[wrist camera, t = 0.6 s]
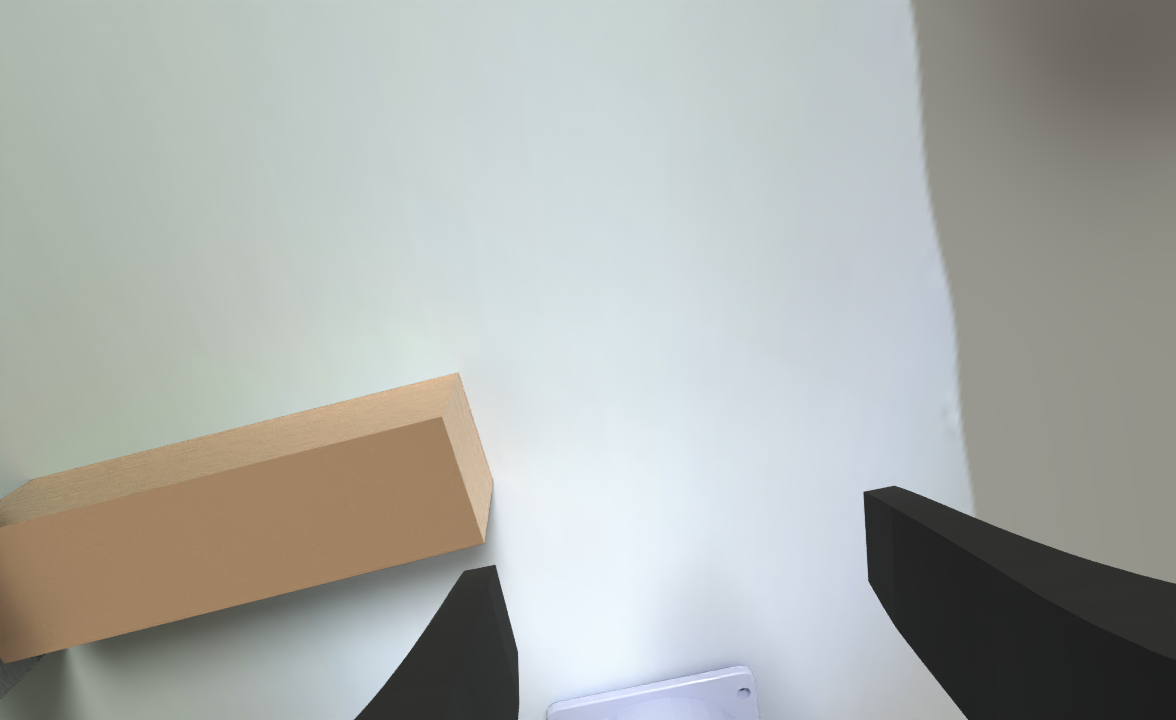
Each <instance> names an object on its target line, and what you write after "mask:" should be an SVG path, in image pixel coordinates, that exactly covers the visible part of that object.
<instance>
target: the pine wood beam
mask: <svg viewBox="0 0 1176 720" xmlns="http://www.w3.org/2000/svg"><path fill="white" fill-rule="evenodd" d="M492 487H493V478H492V475H491V472H490V469H489V466H488V463H487V460H486V457H485V453H484V450H483V447H482V444H481V441H480V438H479V435H478V431H477V428H476V425H475V422H474V419H473V416H472V413H471V410H470V406H469V403H468V400H467V397H466V394H465V391H464V388H463V384H462V381H461V378H460V375H459V372H458V373H454V374H450V375H446V376H442V377H438V378H434V379H430V380H426V381H422V382H418V383H414V384H410V385H406V386H402V387H398V388H394V389H390V390H386V391H382V392H378V393H374V394H370V395H366V396H362V397H358V398H354V399H350V400H346V401H343V402H339V403H335V404H331V405H327V406H323V407H319V408H315V409H311V410H307V411H303V412H299V413H295V414H291V415H287V416H283V417H279V418H275V419H271V420H267V421H263V422H259V423H255V424H251V425H247V426H243V427H239V428H235V429H231V430H227V431H223V432H219V433H215V434H211V435H207V436H203V437H199V438H195V439H191V440H187V441H183V442H179V443H175V444H171V445H167V446H163V447H159V448H155V449H151V450H147V451H143V452H139V453H135V454H131V455H127V456H123V457H119V458H115V459H111V460H108V461H104V462H100V463H96V464H92V465H88V466H84V467H80V468H76V469H72V470H68V471H64V472H60V473H56V474H52V475H48V476H44V477H40V478H36V479H33V480H31V481H30V482H28V483H26V484H25V485H23V486H22V487H20V488H18V489H17V490H15V491H14V492H12V493H10V494H9V495H7V496H6V497H4V498H2V499H1V500H0V658H1V659H2V661H3V662H4V664H6V663H10V662H14V661H18V660H22V659H26V658H30V657H34V656H38V655H42V654H46V653H50V652H54V651H58V650H62V649H66V648H70V647H73V646H77V645H81V644H85V643H89V642H93V641H97V640H101V639H105V638H109V637H113V636H117V635H121V634H125V633H129V632H133V631H137V630H141V629H145V628H149V627H153V626H157V625H161V624H165V623H169V622H173V621H177V620H181V619H185V618H189V617H193V616H197V615H201V614H205V613H209V612H213V611H217V610H221V609H225V608H229V607H233V606H237V605H241V604H245V603H249V602H253V601H257V600H261V599H265V598H269V597H273V596H277V595H281V594H285V593H289V592H293V591H297V590H301V589H305V588H309V587H313V586H317V585H321V584H325V583H329V582H333V581H337V580H341V579H345V578H349V577H353V576H357V575H361V574H365V573H369V572H373V571H377V570H381V569H385V568H389V567H393V566H397V565H401V564H405V563H409V562H413V561H417V560H421V559H425V558H429V557H433V556H437V555H441V554H445V553H449V552H453V551H457V550H461V549H465V548H469V547H472V546H476V545H480V544H484V543H485V536H486V529H487V522H488V515H489V508H490V501H491V494H492Z"/></svg>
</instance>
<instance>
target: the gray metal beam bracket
mask: <svg viewBox="0 0 1176 720" xmlns="http://www.w3.org/2000/svg"><path fill="white" fill-rule="evenodd" d="M44 655H45V654H42V655H38V656H34V657H30V658H26V659H22V660H18V661H14V662H10V663H6V664H4V662H3V661H2V659H1V658H0V699H1V698H2V697H3V696H4V695H5V694H6V693H7V692H8V691H9V690H10V689H11V688H12V687H13V686H14V685H15V684H16V683H17V682H18V681H19V680H20V679H21V678H22V677H23V676H24V675H25V674H26V673H27V672H28V671H29V670H30V669H31V668H32V667H33V666H34V665H35V664H36V663H37V662H38V661H39V660H40V659H41V658H42V657H43V656H44Z"/></svg>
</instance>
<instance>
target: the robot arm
mask: <svg viewBox="0 0 1176 720" xmlns="http://www.w3.org/2000/svg"><path fill="white" fill-rule="evenodd" d="M864 510H865V528H866V546H867V564H868V581H869V583H870V585H871V587H872V588H873V590H874V592H875V594H876V595H877V597H878V599H879V600H880V602H881V604H882V606H883V607H884V609H885V611H886V612H887V614H888V615H889V617H890V619H891V620H892V622H893V624H894V625H895V627H896V628H897V630H898V631H899V632H900V634H901V635H902V636H903V637H904V639H905V640H906V641H907V643H908V644H909V645H910V647H911V648H912V649H913V650H914V652H915V653H916V654H917V656H918V657H919V658H920V659H921V661H922V662H923V663H924V665H925V666H926V667H927V668H928V670H929V671H930V672H931V673H932V675H933V676H934V677H935V678H936V680H937V681H938V682H939V683H940V685H941V686H942V687H943V689H944V690H945V691H946V692H947V694H948V695H949V696H950V697H951V699H952V700H953V701H954V702H955V704H956V705H957V706H958V707H959V709H960V710H961V711H962V713H963V714H964V715H965V716H966V718H967V719H968V720H1176V584H1174V583H1170V582H1166V581H1162V580H1158V579H1154V578H1150V577H1146V576H1142V575H1138V574H1135V573H1132V572H1128V571H1125V570H1121V569H1118V568H1114V567H1111V566H1108V565H1104V564H1101V563H1097V562H1094V561H1091V560H1087V559H1084V558H1081V557H1078V556H1075V555H1072V554H1069V553H1066V552H1063V551H1060V550H1057V549H1055V548H1052V547H1049V546H1046V545H1044V544H1041V543H1038V542H1035V541H1032V540H1030V539H1027V538H1024V537H1022V536H1019V535H1016V534H1014V533H1011V532H1008V531H1006V530H1003V529H1001V528H998V527H996V526H993V525H991V524H988V523H986V522H984V521H981V520H979V519H976V518H974V517H971V516H969V515H967V514H964V513H962V512H959V511H957V510H955V509H952V508H950V507H948V506H945V505H943V504H940V503H938V502H936V501H933V500H931V499H928V498H926V497H924V496H921V495H919V494H916V493H914V492H911V491H908V490H906V489H903V488H900V487H897V486H891V487H886V488H881V489H876V490H871V491H865V492H864ZM742 688H746V689H745V690H742V691H739V690H740V689H742ZM518 712H519V672H518V651H517V647H516V643H515V639H514V635H513V631H512V627H511V623H510V620H509V616H508V612H507V608H506V604H505V600H504V596H503V593H502V589H501V585H500V581H499V577H498V573H497V569H496V565H492V566H487V567H482V568H477V569H472V570H467V571H464V572H463V573H462V575H461V576H460V577H459V579H458V580H457V582H456V583H455V585H454V586H453V588H452V589H451V591H450V593H449V594H448V596H447V597H446V599H445V600H444V602H443V603H442V605H441V607H440V608H439V610H438V611H437V613H436V614H435V616H434V617H433V619H432V620H431V622H430V623H429V625H428V626H427V628H426V629H425V630H424V632H423V633H422V635H421V636H420V638H419V639H418V641H417V642H416V644H415V645H414V646H413V648H412V649H411V651H410V652H409V653H408V655H407V656H406V657H405V659H404V660H403V661H402V663H401V664H400V665H399V667H398V668H397V669H396V671H395V672H394V673H393V674H392V676H391V677H390V678H389V680H388V681H387V682H386V684H385V685H384V686H383V687H382V689H381V690H380V691H379V692H378V693H377V695H376V696H375V697H374V698H373V699H372V700H371V701H370V703H369V704H368V705H367V706H366V707H365V708H364V709H363V711H362V712H361V713H360V714H359V715H358V716H357V717H356V718H355V719H354V720H518ZM547 720H760V716H759V708H758V699H757V691H756V683H755V678H754V675H753V673H752V671H751V669H750V668H749V667H746V666H735V667H730V668H725V669H720V670H715V671H710V672H705V673H700V674H695V675H690V676H685V677H680V678H675V679H670V680H665V681H660V682H655V683H650V684H645V685H640V686H635V687H630V688H625V689H620V690H615V691H610V692H605V693H600V694H595V695H590V696H585V697H580V698H575V699H570V700H565V701H560V702H556V703H554V704H552V705H551V706H549V708H548V710H547Z"/></svg>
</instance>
